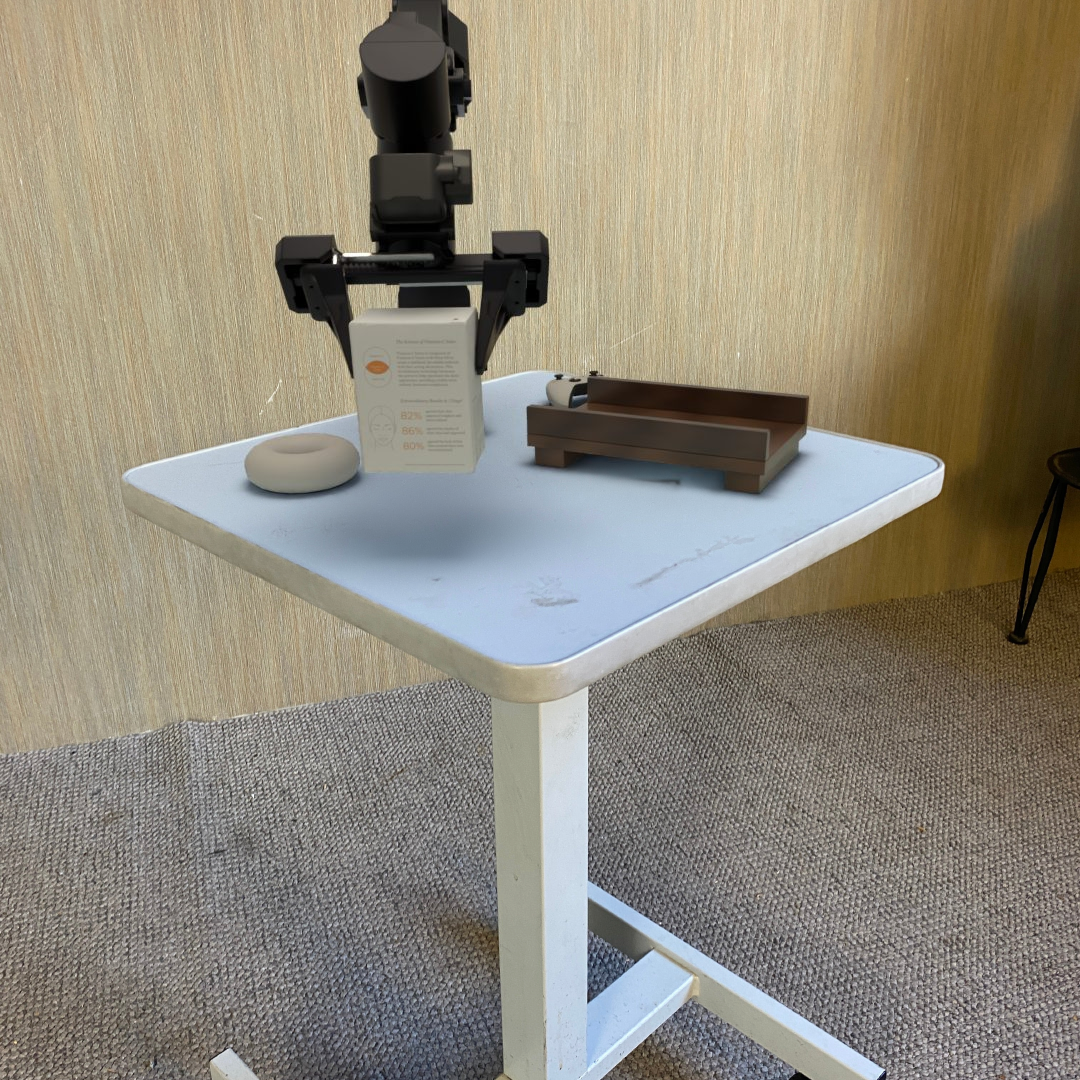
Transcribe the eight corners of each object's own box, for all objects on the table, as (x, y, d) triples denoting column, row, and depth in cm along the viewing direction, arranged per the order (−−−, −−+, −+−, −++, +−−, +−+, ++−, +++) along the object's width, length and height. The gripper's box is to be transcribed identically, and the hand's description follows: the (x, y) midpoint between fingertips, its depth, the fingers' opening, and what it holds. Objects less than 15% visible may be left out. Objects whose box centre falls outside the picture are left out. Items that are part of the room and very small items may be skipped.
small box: (486, 451, 77) (480, 305, 73) (475, 475, 71) (468, 320, 68) (378, 450, 77) (367, 306, 73) (360, 474, 72) (347, 320, 68)
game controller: (562, 408, 111) (543, 362, 113) (546, 435, 116) (528, 390, 118) (639, 397, 115) (619, 353, 117) (620, 423, 120) (602, 380, 122)
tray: (527, 465, 96) (526, 406, 94) (591, 428, 107) (591, 375, 105) (763, 496, 86) (767, 432, 84) (805, 453, 98) (809, 395, 96)
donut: (317, 506, 86) (383, 470, 95) (313, 466, 85) (380, 433, 94) (222, 491, 90) (293, 458, 99) (216, 453, 89) (289, 423, 98)
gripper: (263, 109, 69) (249, 305, 63) (545, 104, 70) (559, 297, 64) (295, 223, 79) (285, 401, 73) (541, 218, 80) (552, 393, 74)
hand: (416, 373), depth 71 cm, fingers closed on small box, 8 cm apart
